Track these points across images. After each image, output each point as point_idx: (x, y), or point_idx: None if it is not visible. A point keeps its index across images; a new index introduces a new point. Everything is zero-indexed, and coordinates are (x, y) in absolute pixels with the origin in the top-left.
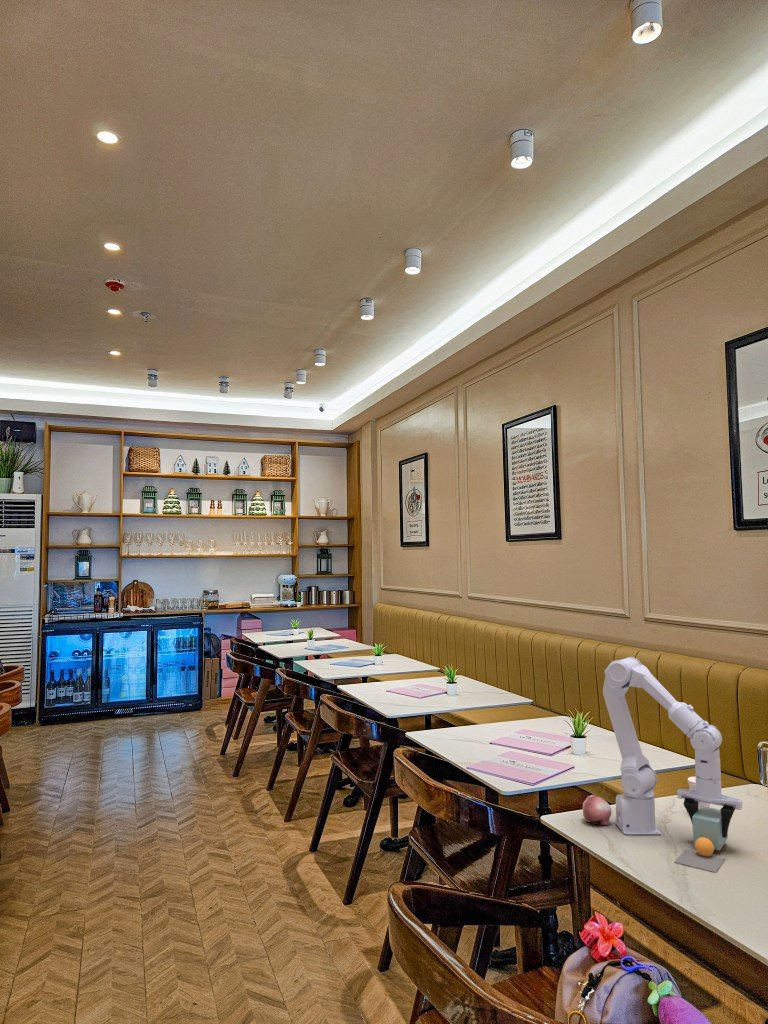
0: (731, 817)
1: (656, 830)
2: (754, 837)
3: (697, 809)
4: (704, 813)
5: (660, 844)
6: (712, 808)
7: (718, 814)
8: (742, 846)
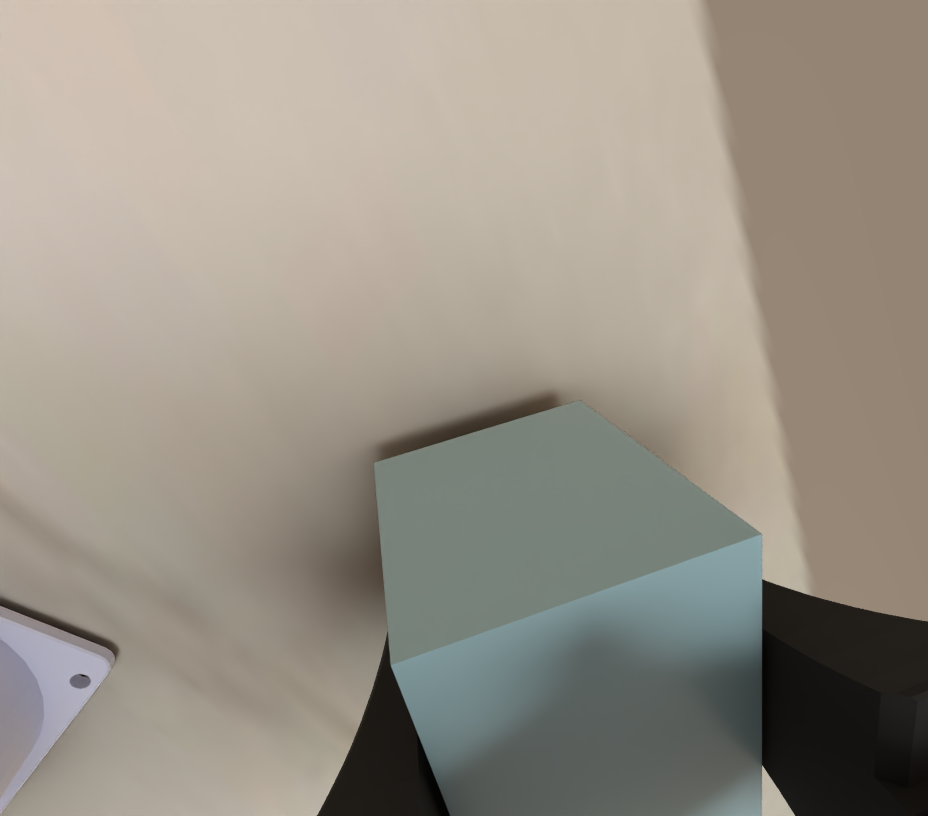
0: (820, 604)
1: (42, 661)
2: (663, 30)
3: (428, 793)
4: (564, 813)
5: (249, 763)
6: (573, 615)
7: (708, 713)
8: (650, 341)
